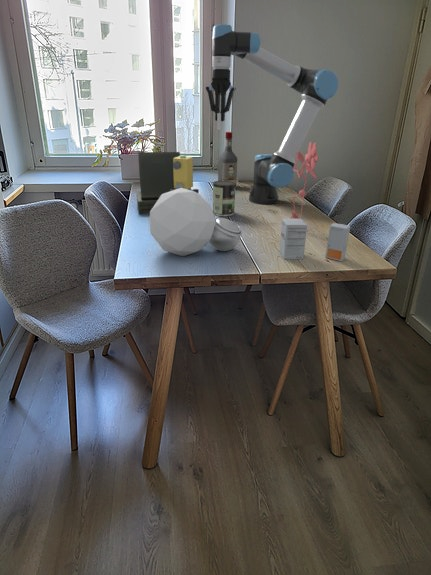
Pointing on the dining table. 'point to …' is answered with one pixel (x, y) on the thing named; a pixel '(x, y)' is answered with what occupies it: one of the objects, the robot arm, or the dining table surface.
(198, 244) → the lamp
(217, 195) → the coffee can
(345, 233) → the skincare box
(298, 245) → the supplement box
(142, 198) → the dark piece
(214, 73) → the robot arm
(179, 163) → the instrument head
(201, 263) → the dining table surface
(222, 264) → the dining table surface
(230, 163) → the liquor
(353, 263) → the dining table surface
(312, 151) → the figurine
